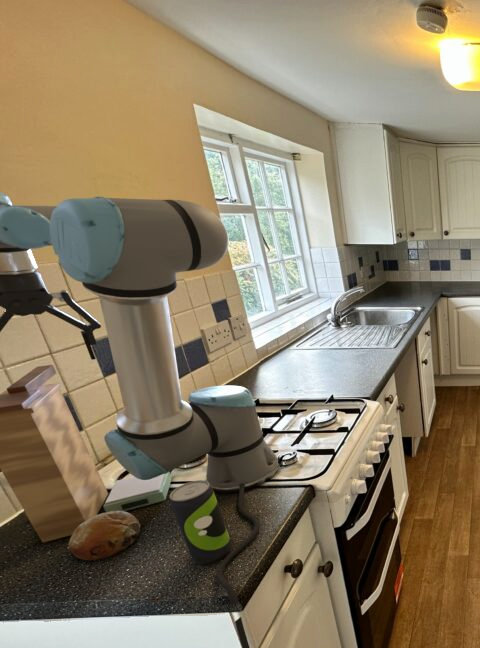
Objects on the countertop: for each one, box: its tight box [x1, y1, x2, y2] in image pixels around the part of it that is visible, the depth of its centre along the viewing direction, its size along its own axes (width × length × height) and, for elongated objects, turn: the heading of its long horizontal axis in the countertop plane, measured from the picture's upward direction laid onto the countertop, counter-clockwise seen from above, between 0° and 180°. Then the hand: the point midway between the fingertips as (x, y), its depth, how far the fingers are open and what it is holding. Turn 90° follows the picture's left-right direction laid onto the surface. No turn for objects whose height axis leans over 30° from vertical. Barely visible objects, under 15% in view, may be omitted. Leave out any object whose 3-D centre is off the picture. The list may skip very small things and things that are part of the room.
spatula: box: [0, 364, 57, 413], centre depth 81 cm, size 22×6×2 cm, turn 30°
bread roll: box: [68, 511, 141, 561], centre depth 81 cm, size 10×10×8 cm
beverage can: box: [169, 479, 232, 565], centre depth 76 cm, size 6×6×15 cm
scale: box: [102, 471, 173, 513], centre depth 94 cm, size 10×10×3 cm
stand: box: [0, 382, 109, 544], centre depth 83 cm, size 14×8×28 cm, turn 30°
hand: (53, 364), depth 96 cm, fingers open, 13 cm apart
